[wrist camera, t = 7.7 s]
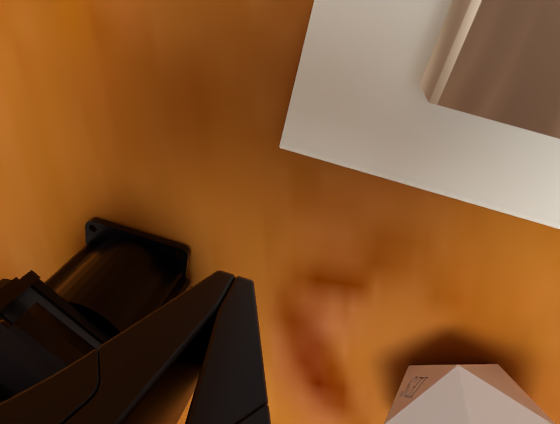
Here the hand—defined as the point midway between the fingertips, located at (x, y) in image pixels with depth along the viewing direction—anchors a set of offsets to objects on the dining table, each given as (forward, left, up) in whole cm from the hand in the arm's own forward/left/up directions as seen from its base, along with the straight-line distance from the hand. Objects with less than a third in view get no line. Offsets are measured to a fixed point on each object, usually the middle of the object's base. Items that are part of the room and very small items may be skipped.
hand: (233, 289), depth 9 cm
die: (+13, -13, -12) cm, 22 cm away
